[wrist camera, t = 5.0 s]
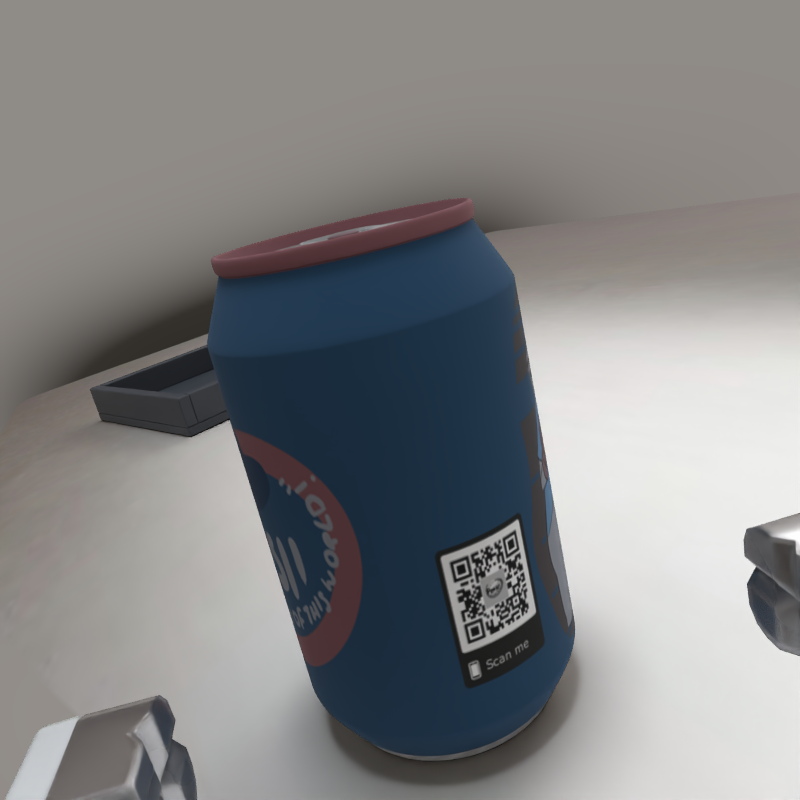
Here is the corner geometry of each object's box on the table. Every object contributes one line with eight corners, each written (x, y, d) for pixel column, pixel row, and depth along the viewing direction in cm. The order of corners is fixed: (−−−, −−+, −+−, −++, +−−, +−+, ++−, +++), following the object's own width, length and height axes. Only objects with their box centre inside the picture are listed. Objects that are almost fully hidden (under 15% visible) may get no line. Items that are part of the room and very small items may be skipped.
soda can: (289, 671, 21) (157, 265, 17) (485, 572, 23) (407, 201, 20) (393, 843, 15) (223, 271, 11) (643, 684, 17) (570, 178, 14)
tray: (190, 436, 45) (177, 398, 45) (101, 420, 55) (89, 388, 54) (344, 365, 54) (335, 332, 54) (243, 361, 64) (235, 334, 63)
